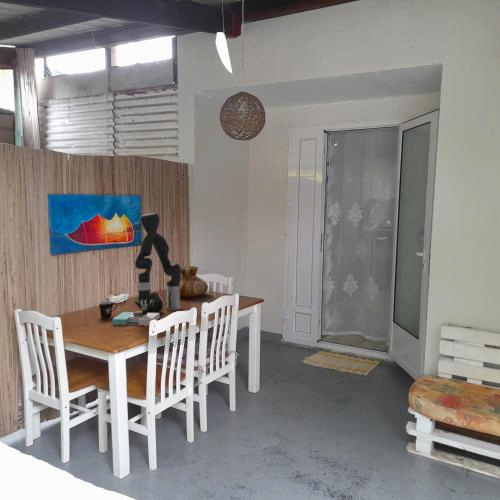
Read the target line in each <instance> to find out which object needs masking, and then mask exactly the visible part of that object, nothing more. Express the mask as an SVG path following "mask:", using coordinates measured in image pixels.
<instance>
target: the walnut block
mask: <svg viewBox="0 0 500 500" xmlns="http://www.w3.org/2000/svg"><path fill="white" fill-rule="evenodd" d="M133 312H134V313H133V317H141V316H143V312H142V310H135V311H133Z"/></svg>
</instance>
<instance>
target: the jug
mask: <svg viewBox="0 0 500 500" xmlns="http://www.w3.org/2000/svg"><path fill="white" fill-rule="evenodd" d="M180 267H181V280H180V299H197V298H199V296H200V297H201V296H203V295H204V294H206V292H208V290H209V286H208V284H207V282H206V281H205V280H204V279H202V278H200V277H198V276H197V273H198V270H199V267H198V266H189V265H187V266H180ZM196 297H197V298H196Z"/></svg>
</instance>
